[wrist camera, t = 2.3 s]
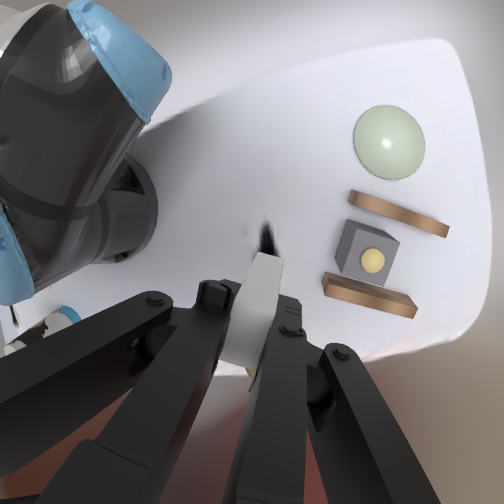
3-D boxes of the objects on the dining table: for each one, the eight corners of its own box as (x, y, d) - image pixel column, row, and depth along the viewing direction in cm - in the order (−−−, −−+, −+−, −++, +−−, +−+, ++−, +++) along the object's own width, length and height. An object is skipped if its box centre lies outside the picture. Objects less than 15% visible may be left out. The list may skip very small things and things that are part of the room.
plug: (334, 257, 35) (342, 277, 29) (347, 218, 34) (358, 230, 27) (371, 268, 35) (386, 290, 28) (384, 230, 33) (403, 245, 27)
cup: (61, 298, 44) (3, 336, 30) (87, 321, 44) (32, 367, 30) (56, 323, 46) (5, 362, 32) (80, 345, 46) (32, 390, 32)
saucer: (345, 165, 32) (346, 165, 31) (362, 96, 29) (364, 94, 29) (412, 189, 31) (415, 190, 30) (428, 122, 29) (431, 121, 28)
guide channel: (322, 282, 36) (324, 295, 32) (351, 189, 33) (358, 191, 29) (403, 305, 35) (413, 319, 32) (435, 220, 32) (449, 226, 28)
